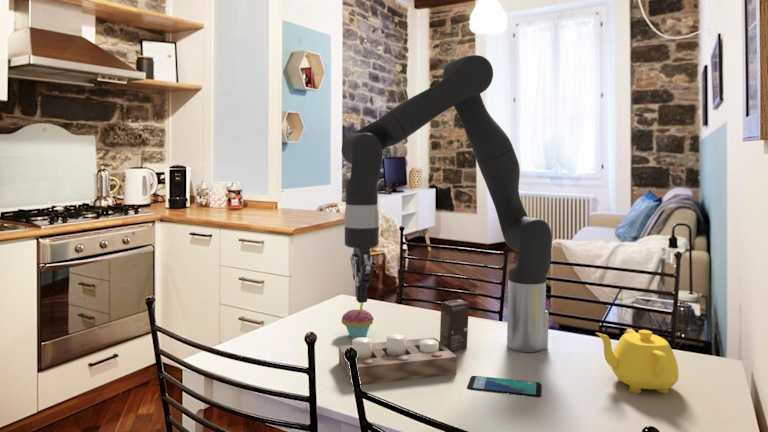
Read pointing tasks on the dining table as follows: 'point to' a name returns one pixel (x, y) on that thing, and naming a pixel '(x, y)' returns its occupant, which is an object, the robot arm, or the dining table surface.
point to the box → (454, 324)
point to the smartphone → (505, 386)
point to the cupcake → (357, 322)
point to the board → (401, 363)
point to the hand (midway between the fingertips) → (361, 301)
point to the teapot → (642, 361)
